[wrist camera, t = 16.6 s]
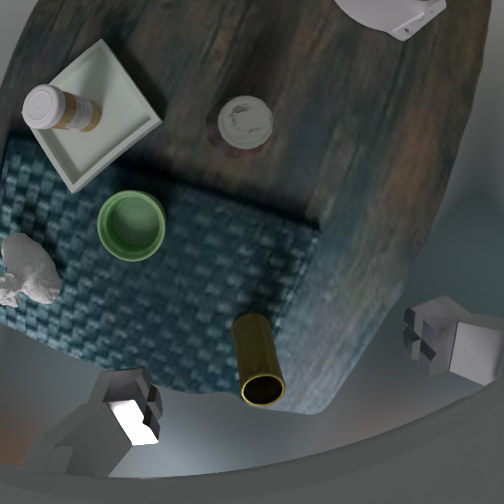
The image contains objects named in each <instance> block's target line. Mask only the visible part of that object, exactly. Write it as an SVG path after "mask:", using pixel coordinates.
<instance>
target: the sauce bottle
mask: <svg viewBox="0 0 504 504" xmlns="http://www.w3.org/2000/svg"><path fill="white" fill-rule="evenodd" d="M273 127H274V117H273V113H272V111H271V109H270V108H269V106H268V105H267V104H266V103H265V102H264V101H262V100H261V99H259V98H257V97H256V96H251V95H241V96H235V97H229V98H226V99H223V100H221V101H219V102H218V103H217V104H215V105H214V106H213V108H212V109H211V110H210V112H209V114H208V116H207V119H206V125H205V129H206V135H207V138H208V140H209V142H210V144H211V145H212V147H213V148H214V149H215V150H216V151H218V152H219V153H221V154H223V155H225V156H228V157H232V158H246V157H249V156H252V155H254V154H256V153H258V152H259V151H261V149H263V148H264V147H265V145H266V144H267V142H268V140H269V138H270V136H271V133H272V131H273Z"/></svg>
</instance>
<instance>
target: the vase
mask: <svg viewBox="0 0 504 504" xmlns="http://www.w3.org/2000/svg"><path fill="white" fill-rule="evenodd" d="M271 331H272V329H271V325H270V322H269V321H268V319H267V318H265V317H264V316H263V315H260V314H257V313H247V314H244V315H242V316H240V317H239V318H237V319H236V320H235V322H234V323H233V325H232V328H231V334H232V338H233V342H234V346H235V353H236V359H237V364H238V370H239V378H240V388H241V394H242V397H243V398H244V399H245V400H246V401H247V402H248V403H250V404H252V405H255V406H268V405H271V404H273V403H275V402H277V401H278V400H279V399H280V398H281V397H282V396H283V395H284V392H285V388H286V384H285V382H284V379H283V376H282V372H281V369H280V366H279V362H278V358H277V354H276V348H275V344H274V339H273V335H272V332H271Z"/></svg>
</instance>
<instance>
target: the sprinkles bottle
mask: <svg viewBox="0 0 504 504" xmlns="http://www.w3.org/2000/svg"><path fill="white" fill-rule="evenodd" d="M23 117H24V120H25V122H26V123H27V124H28V125H29V126H30V127H32V128H36V129H48V128H54V129H62V130H68V131H79V132H83V133H85V132H89V131H91V130H93V129H94V128H96V127H97V125H98V124H99V122H100V119H101V109H100V106H99V105H98V104H97V103H96V102H94V101H92V100H87V99H86V98H83V97H80V96H78V95H75V94H72V93H69V92H65V91H62V90H61V89H59V88H58V87H56V86H53V85H48V84H42V85H39V86H37V87H35V88H34V89H33V90H32V91H31V92H30V93H29V94H28V95H27V97H26V99H25V102H24V105H23Z"/></svg>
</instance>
